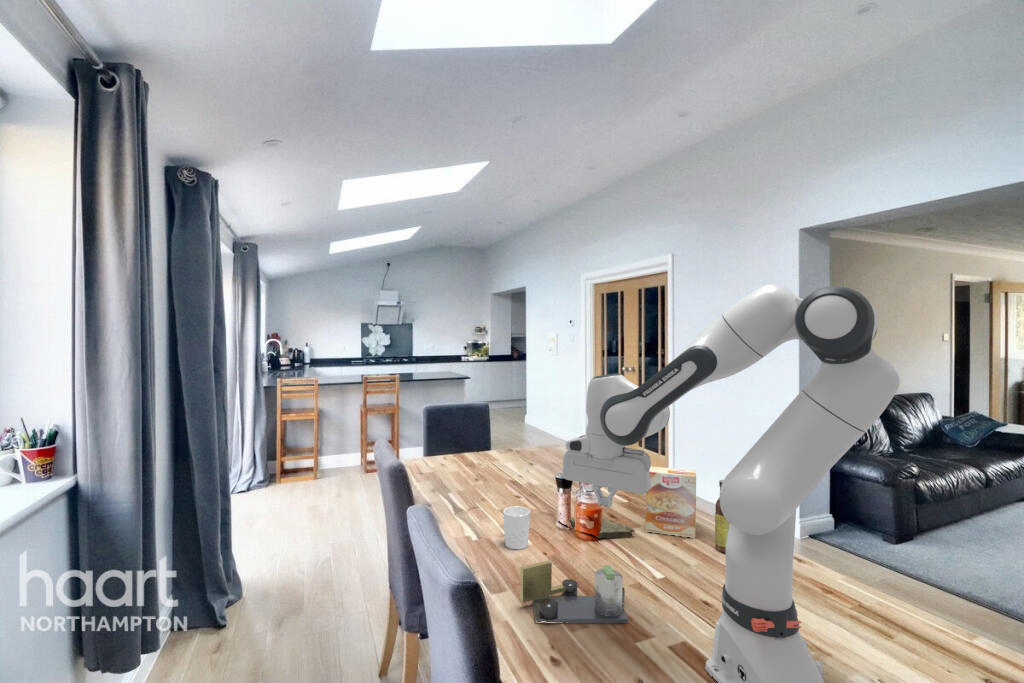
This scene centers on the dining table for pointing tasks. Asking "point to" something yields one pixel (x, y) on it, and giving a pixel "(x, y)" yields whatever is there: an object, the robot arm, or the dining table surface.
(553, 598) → the base
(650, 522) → the coffeecake box
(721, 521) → the sauce bottle
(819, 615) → the dining table surface
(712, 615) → the dining table surface
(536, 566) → the olive upright panel
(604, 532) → the stone slab
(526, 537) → the white cup
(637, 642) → the dining table surface
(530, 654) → the dining table surface
